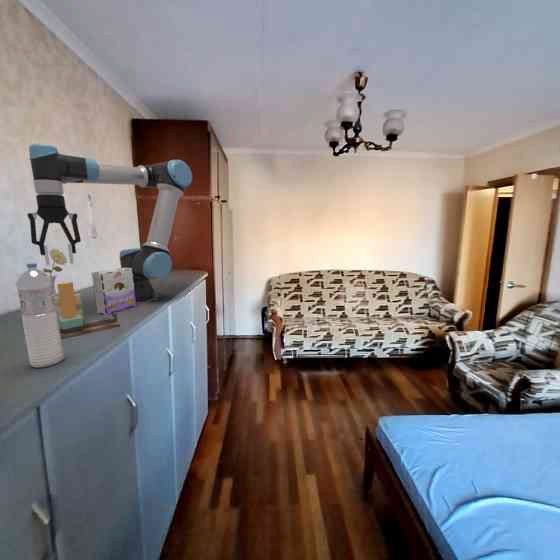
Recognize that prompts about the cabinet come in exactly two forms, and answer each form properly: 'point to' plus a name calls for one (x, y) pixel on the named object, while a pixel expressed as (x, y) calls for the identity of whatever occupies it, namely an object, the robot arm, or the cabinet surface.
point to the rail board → (88, 330)
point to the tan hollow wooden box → (77, 300)
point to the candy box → (114, 290)
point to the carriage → (68, 306)
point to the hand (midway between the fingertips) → (60, 263)
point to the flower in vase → (59, 259)
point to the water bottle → (39, 317)
